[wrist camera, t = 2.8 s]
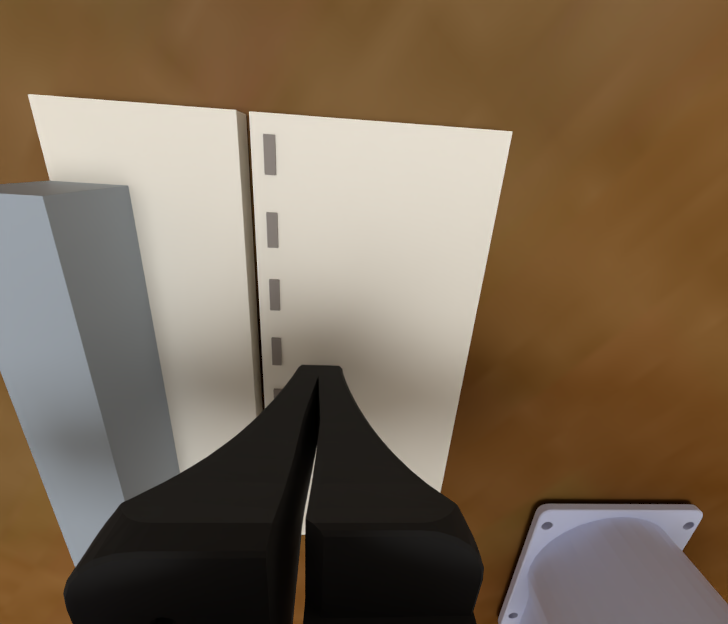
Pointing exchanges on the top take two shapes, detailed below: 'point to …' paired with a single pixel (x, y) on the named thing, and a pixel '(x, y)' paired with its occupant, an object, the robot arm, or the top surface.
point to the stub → (128, 300)
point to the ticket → (375, 264)
